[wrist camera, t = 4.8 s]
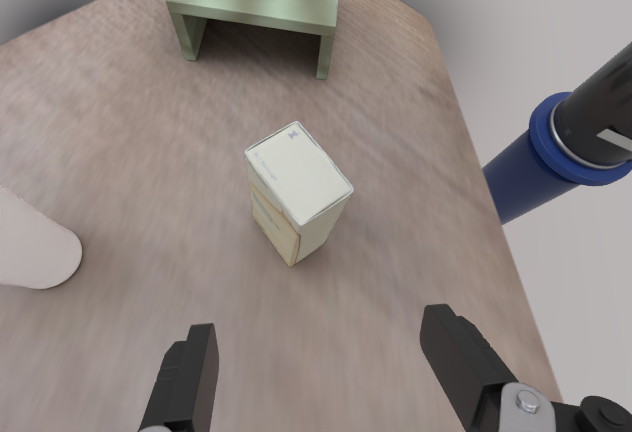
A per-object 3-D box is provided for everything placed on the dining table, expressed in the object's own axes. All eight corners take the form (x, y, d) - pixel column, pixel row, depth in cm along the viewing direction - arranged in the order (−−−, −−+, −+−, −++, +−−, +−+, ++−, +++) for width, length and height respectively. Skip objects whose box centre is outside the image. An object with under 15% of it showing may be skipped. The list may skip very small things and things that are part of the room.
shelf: (334, 0, 43) (343, -60, 37) (326, 80, 38) (335, 26, 32) (208, -20, 42) (195, -86, 36) (185, 59, 37) (164, 0, 31)
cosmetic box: (252, 217, 32) (237, 148, 20) (290, 193, 33) (296, 116, 22) (291, 270, 30) (298, 228, 19) (329, 243, 32) (357, 188, 20)
